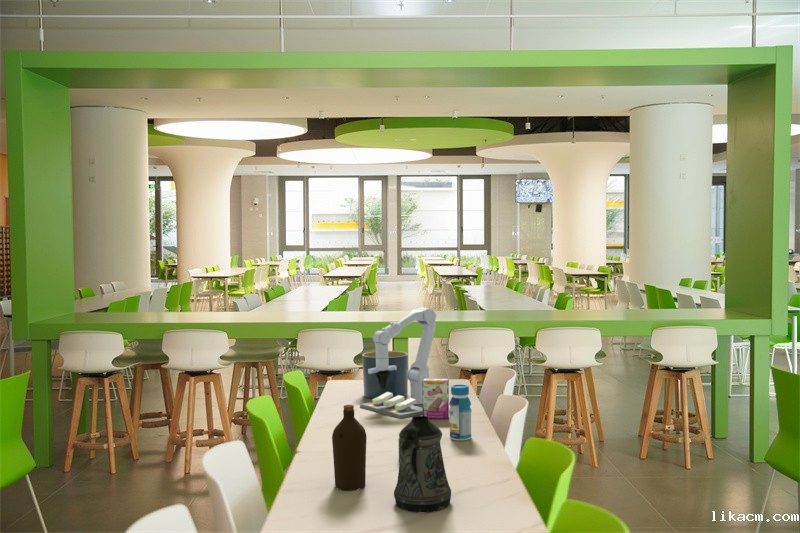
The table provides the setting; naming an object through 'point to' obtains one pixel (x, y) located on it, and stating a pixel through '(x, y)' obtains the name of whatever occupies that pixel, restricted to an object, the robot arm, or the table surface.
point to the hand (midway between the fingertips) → (382, 387)
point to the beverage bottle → (460, 413)
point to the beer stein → (421, 469)
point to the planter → (395, 381)
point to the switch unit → (393, 410)
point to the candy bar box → (436, 398)
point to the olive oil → (349, 452)
